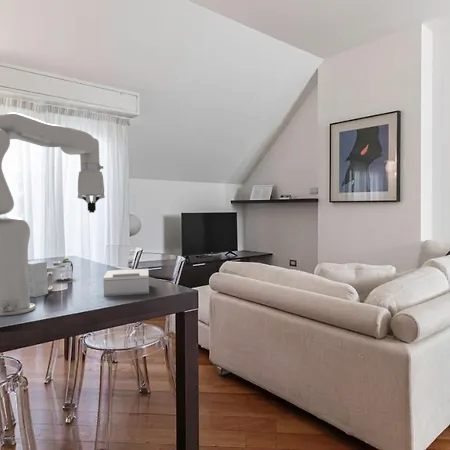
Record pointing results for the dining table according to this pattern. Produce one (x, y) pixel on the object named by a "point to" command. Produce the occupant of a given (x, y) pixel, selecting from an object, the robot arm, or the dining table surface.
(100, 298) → the dining table surface
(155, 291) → the dining table surface
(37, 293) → the small box
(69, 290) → the dining table surface
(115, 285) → the white square tray
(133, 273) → the lid
